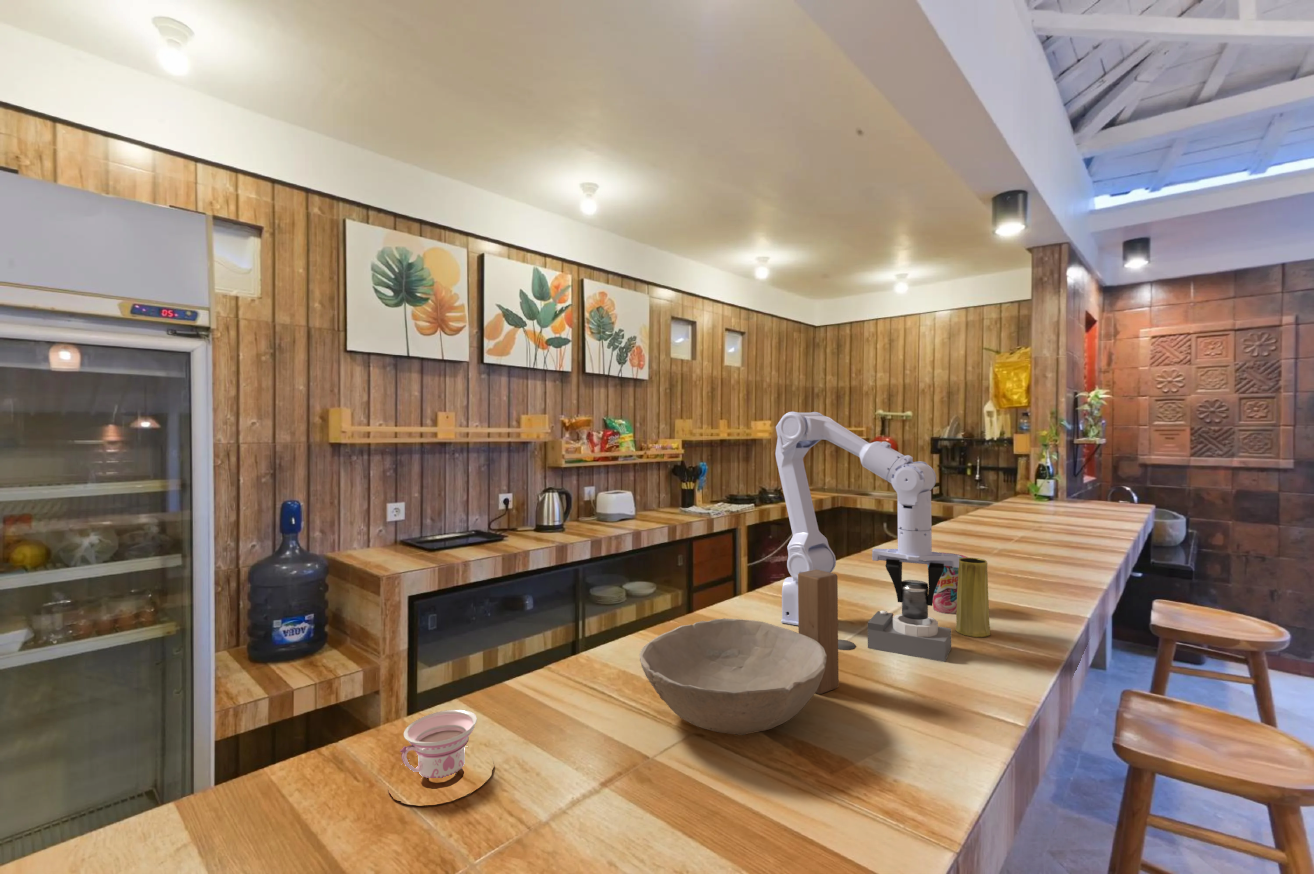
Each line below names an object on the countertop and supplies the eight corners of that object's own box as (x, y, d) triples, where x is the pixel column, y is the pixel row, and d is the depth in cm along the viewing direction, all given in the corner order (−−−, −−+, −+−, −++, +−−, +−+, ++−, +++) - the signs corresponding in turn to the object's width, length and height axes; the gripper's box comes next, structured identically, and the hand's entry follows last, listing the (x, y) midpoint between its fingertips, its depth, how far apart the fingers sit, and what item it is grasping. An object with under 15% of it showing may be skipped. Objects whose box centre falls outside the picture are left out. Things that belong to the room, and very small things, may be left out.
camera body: (867, 647, 111) (867, 619, 111) (878, 634, 118) (877, 608, 118) (945, 661, 104) (944, 631, 104) (951, 647, 111) (951, 618, 111)
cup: (928, 614, 130) (927, 559, 130) (922, 603, 138) (922, 551, 138) (976, 617, 127) (975, 561, 127) (967, 606, 135) (967, 553, 135)
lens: (898, 616, 109) (898, 583, 109) (904, 610, 113) (904, 577, 113) (925, 621, 107) (925, 586, 107) (930, 614, 110) (930, 581, 110)
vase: (982, 627, 121) (981, 556, 121) (996, 638, 115) (995, 563, 115) (950, 626, 122) (950, 556, 122) (963, 637, 116) (962, 563, 116)
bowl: (671, 787, 69) (670, 701, 69) (623, 690, 95) (622, 627, 94) (870, 751, 76) (870, 672, 76) (775, 670, 102) (774, 611, 101)
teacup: (458, 740, 80) (458, 694, 80) (514, 772, 73) (513, 721, 73) (368, 782, 71) (367, 730, 71) (421, 823, 63) (420, 765, 63)
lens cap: (825, 648, 112) (825, 645, 112) (832, 640, 116) (832, 637, 116) (851, 653, 109) (851, 650, 109) (858, 645, 113) (858, 642, 113)
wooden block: (777, 675, 99) (776, 567, 99) (796, 669, 102) (795, 563, 102) (820, 695, 92) (818, 578, 92) (839, 688, 94) (838, 573, 94)
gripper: (869, 529, 110) (870, 603, 110) (958, 534, 103) (958, 613, 103) (874, 523, 116) (875, 593, 116) (959, 528, 109) (959, 602, 110)
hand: (915, 602), depth 110 cm, fingers closed on lens, 4 cm apart
